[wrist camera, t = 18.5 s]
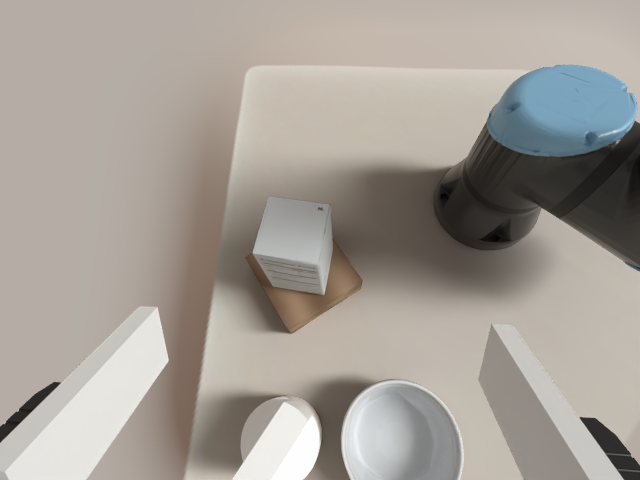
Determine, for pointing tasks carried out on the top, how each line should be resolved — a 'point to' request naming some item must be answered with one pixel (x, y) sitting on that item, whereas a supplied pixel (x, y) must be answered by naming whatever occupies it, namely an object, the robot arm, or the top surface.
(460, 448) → the ramekin
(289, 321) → the walnut block
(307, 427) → the cylinder with rectangular tab
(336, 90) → the top surface
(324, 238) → the supplement box
